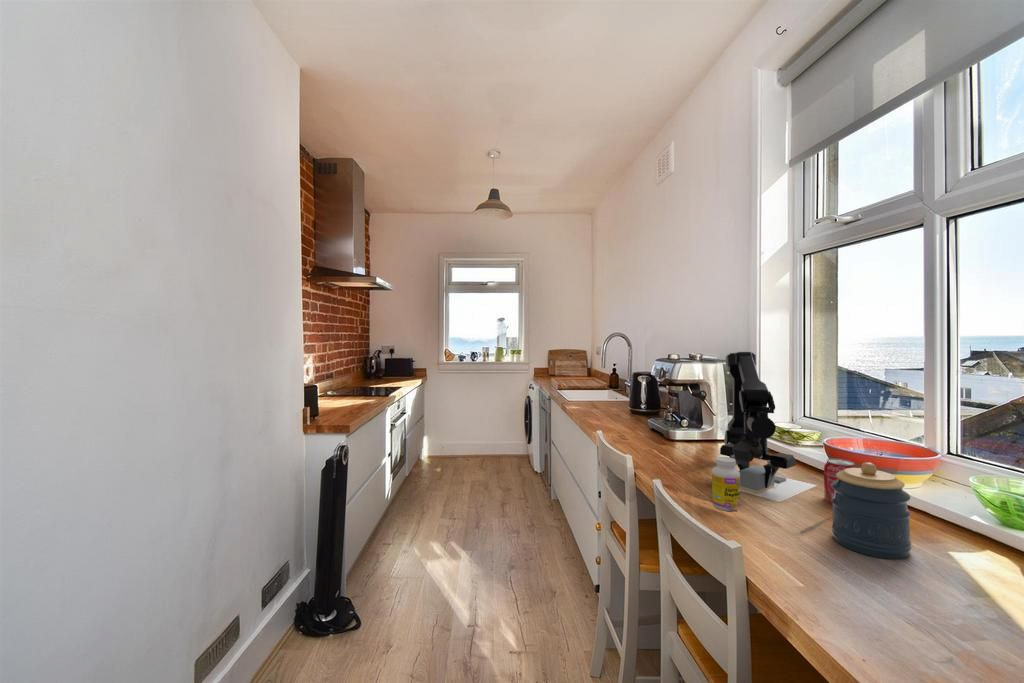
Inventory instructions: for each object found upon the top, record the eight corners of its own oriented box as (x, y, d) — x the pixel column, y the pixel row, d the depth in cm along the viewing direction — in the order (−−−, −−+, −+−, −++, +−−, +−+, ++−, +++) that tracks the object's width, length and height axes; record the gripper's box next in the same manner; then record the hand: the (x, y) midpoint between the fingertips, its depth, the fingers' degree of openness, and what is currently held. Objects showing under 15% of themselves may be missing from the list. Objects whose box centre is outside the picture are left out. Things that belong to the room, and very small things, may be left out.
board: (754, 474, 140) (754, 470, 140) (817, 490, 125) (817, 485, 125) (714, 488, 128) (714, 483, 128) (779, 507, 113) (779, 501, 113)
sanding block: (755, 482, 128) (754, 465, 128) (774, 487, 124) (774, 469, 124) (738, 488, 123) (738, 470, 123) (757, 493, 119) (757, 475, 119)
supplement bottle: (723, 513, 110) (722, 463, 110) (706, 504, 116) (706, 456, 116) (746, 511, 111) (745, 461, 111) (728, 501, 117) (728, 454, 117)
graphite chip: (772, 477, 132) (772, 474, 132) (786, 480, 129) (786, 478, 129) (765, 480, 130) (765, 477, 130) (779, 483, 127) (779, 480, 127)
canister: (880, 564, 84) (879, 474, 84) (817, 536, 96) (816, 457, 96) (927, 554, 87) (926, 468, 87) (861, 528, 100) (859, 452, 100)
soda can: (846, 502, 115) (845, 457, 115) (865, 513, 108) (864, 465, 108) (818, 502, 116) (817, 457, 116) (835, 512, 109) (834, 465, 109)
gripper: (708, 429, 127) (709, 481, 127) (775, 440, 111) (776, 500, 111) (730, 424, 133) (730, 474, 133) (796, 434, 117) (797, 492, 117)
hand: (756, 484), depth 124 cm, fingers closed on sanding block, 5 cm apart
